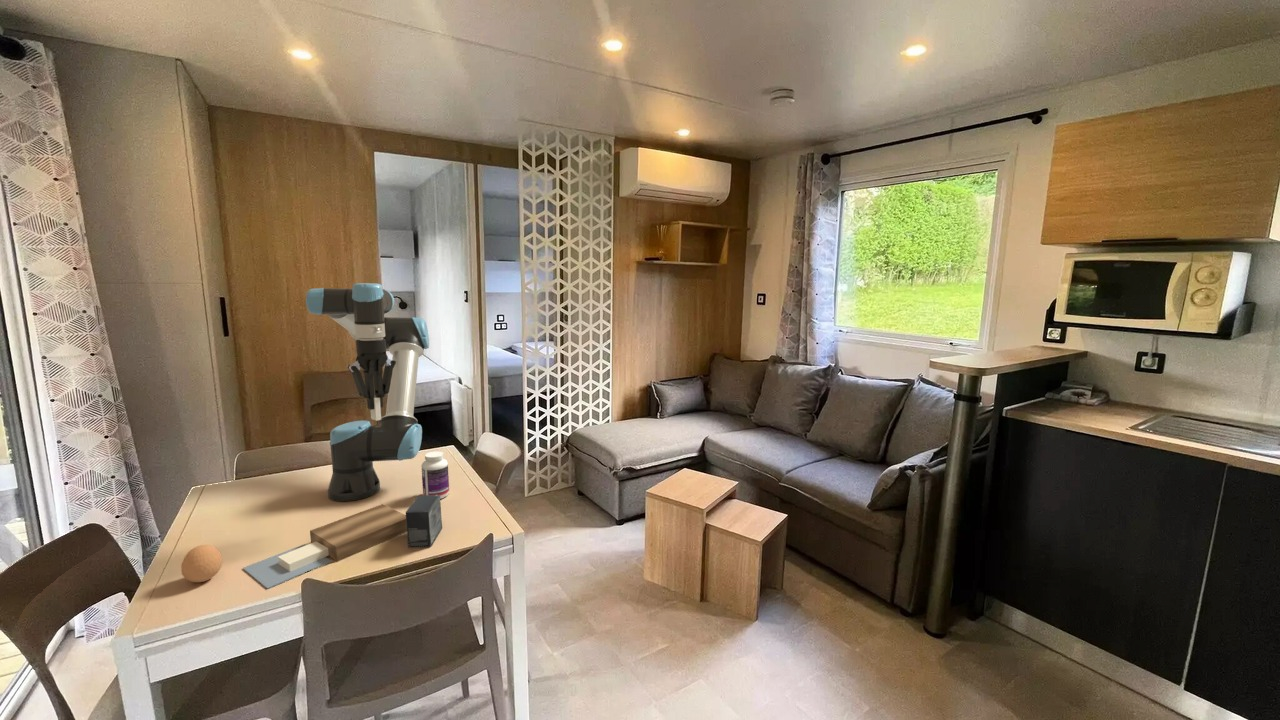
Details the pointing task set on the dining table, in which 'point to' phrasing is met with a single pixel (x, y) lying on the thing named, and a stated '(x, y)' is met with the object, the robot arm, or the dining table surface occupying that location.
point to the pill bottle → (435, 475)
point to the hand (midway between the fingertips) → (376, 419)
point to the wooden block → (360, 531)
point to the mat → (279, 570)
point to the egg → (201, 563)
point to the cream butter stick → (303, 556)
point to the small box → (423, 521)
